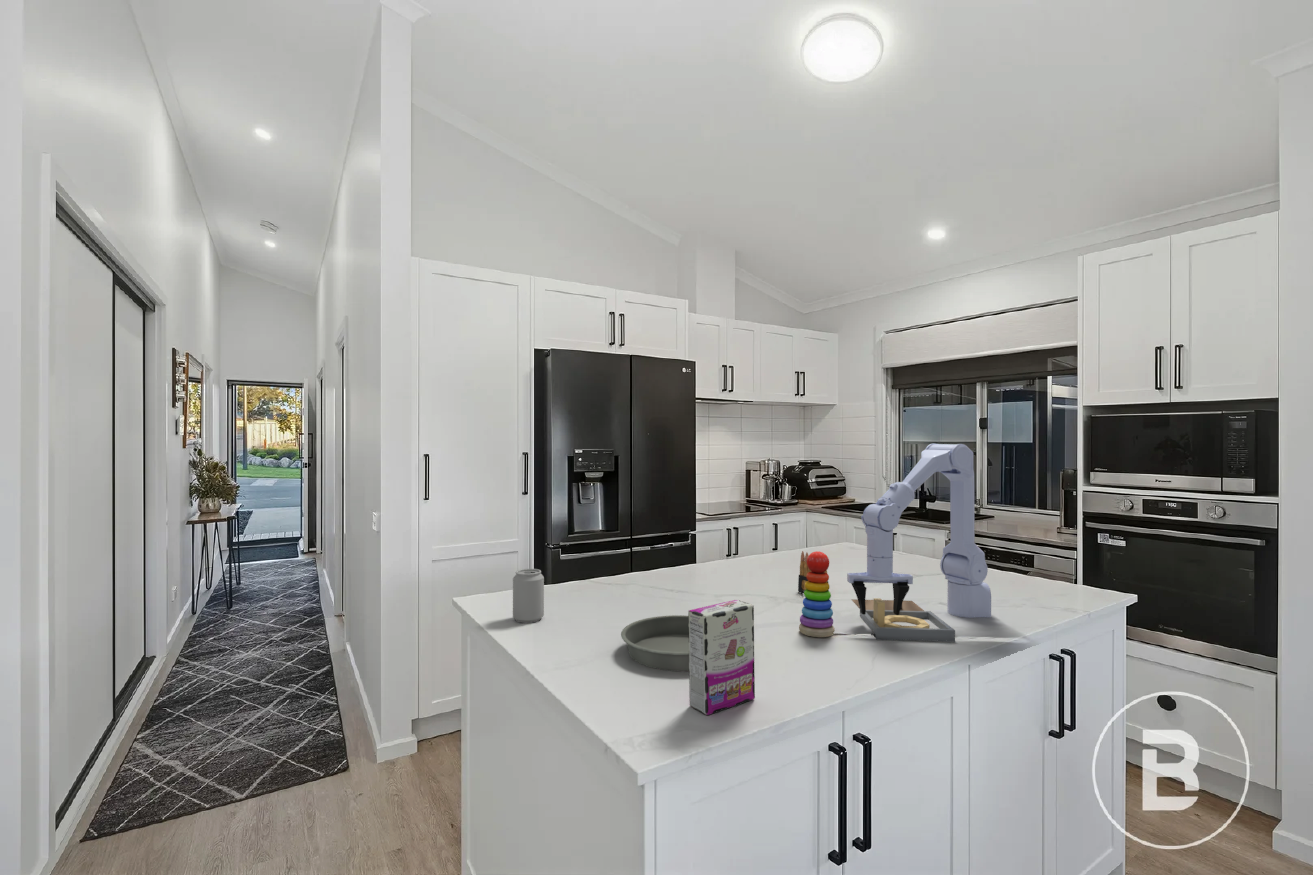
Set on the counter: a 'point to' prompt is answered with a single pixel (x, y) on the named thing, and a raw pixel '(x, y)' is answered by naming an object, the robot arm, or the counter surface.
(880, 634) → the tray
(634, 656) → the cake pan
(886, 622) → the ring
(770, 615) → the counter surface
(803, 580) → the ammunition clip
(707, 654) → the candy bar box
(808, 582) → the stacking toy
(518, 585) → the can
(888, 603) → the stake board
